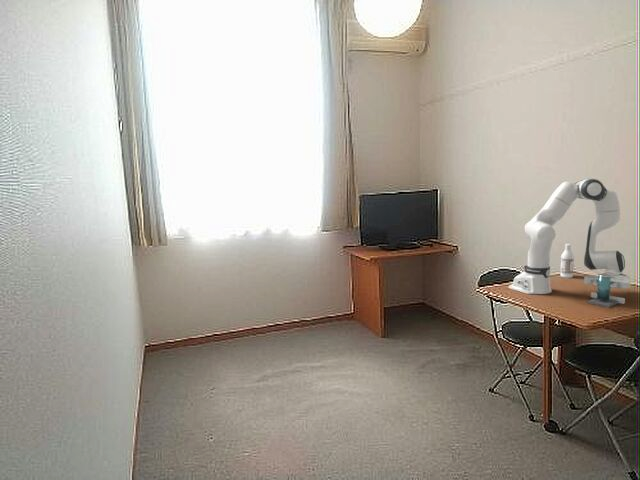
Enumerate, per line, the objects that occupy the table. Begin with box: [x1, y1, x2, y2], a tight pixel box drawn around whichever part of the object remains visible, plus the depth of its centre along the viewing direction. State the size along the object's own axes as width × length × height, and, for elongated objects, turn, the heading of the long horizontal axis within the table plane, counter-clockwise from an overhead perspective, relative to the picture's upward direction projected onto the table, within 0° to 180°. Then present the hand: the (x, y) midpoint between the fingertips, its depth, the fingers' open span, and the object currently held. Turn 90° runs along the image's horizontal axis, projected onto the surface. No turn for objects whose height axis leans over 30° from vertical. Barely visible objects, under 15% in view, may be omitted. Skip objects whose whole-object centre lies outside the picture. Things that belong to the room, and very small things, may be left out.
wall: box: [590, 291, 626, 305], centre depth 250 cm, size 16×1×2 cm, turn 35°
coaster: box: [587, 297, 619, 308], centre depth 246 cm, size 10×10×1 cm
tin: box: [596, 273, 611, 300], centre depth 244 cm, size 6×6×12 cm
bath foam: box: [560, 243, 575, 279], centre depth 297 cm, size 7×7×20 cm
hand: (603, 285), depth 243 cm, fingers closed on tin, 5 cm apart
